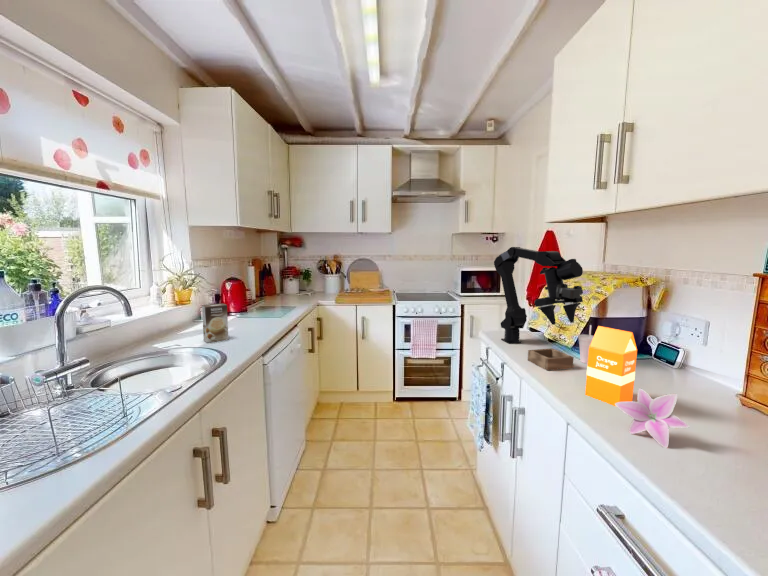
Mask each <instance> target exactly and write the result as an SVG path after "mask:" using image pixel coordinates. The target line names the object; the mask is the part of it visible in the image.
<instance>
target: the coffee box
mask: <svg viewBox="0 0 768 576" xmlns="http://www.w3.org/2000/svg"><path fill="white" fill-rule="evenodd" d="M201 306H202V307H201V311H202V329H203V331H202V333H203V341H204V342H205V343H208V344H209V343H214V342H220V341H221V342H222V341H227V340H228V341H229V322H228V320H229V319H228V318H229V317H228V305H227V304H226V303H212V304H211V303H210V304H202V305H201Z"/></svg>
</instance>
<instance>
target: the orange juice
mask: <svg viewBox="0 0 768 576" xmlns="http://www.w3.org/2000/svg"><path fill="white" fill-rule="evenodd" d="M593 336H594V337H593V339H592V342H591V344H590V346H589V354H588V364H587V366H586V379H585V380H586V381H585V390H584V391H585V394H584V396H587V397H589V396H590V398H593V399H595V400H597V399H598V400H597V401H600V400H601V401H600V402H603V403H605V402H606V404H609V405H612V406H613V407H616V406H615V403H617V402H625V401H633V397H634V386H635V379H636V367H637V356H638V348H637V344H636V340H635V336H634V333H633V332H632V331H628V330H623V329H617V328H612V327H608V326H602V325H598V326H597V328H596V330H595V333H594V335H593Z"/></svg>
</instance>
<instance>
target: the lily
mask: <svg viewBox="0 0 768 576" xmlns="http://www.w3.org/2000/svg"><path fill="white" fill-rule="evenodd" d="M636 397H637V398H636V399H637V401H633V400H632V401H625V402H617V403H615V406H614V407H616V408H617V409H618V410H620V411H621V412H623V413H624V414H625V415H627V416H628V417H630V418H632V419H633V420H632V422H631V423H630V425H629V429H628V434H631V435H634V434H639V433H641V432H645V431H647V432H648V434H649V435H650V436H651V437H652V438H653V439H654V440H655V441H656V442H657V443H658V444H659V446H660V447H661V446H662V448H665V449H667V448H669V442H670V441H669V439H670V428H671V429H686V428H690V425H689V423H687V422H685V421H684V420H683V419H680V418H679V417H678V416H676V415H675V414H672V413H673V411H674V409H675V406H676V403H677V402H678V401H677V400H678V394H677V393H669V394H665V395H664V394H663V395H661V396H658V397H655V398H652V397H651V396H650V394H649V393H648V392H646V391H645V390H644V389H642V388H640V387H639V388H638V389H637V396H636Z"/></svg>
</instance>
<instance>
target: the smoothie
mask: <svg viewBox="0 0 768 576" xmlns="http://www.w3.org/2000/svg"><path fill="white" fill-rule="evenodd" d="M577 336H578V337H577V339H578V343H579V347H578V348H579V358H580V359H579V360H580V363H583V364H587V365H588V354H589V346H590V344H591V342H592V339H593V337H594V335H592V324H589V331H588V334H579V335H577Z"/></svg>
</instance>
